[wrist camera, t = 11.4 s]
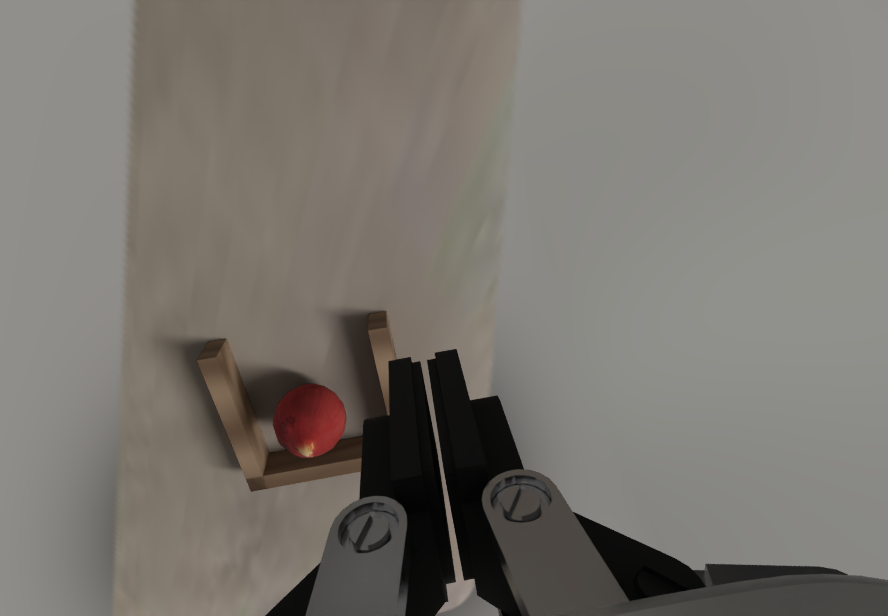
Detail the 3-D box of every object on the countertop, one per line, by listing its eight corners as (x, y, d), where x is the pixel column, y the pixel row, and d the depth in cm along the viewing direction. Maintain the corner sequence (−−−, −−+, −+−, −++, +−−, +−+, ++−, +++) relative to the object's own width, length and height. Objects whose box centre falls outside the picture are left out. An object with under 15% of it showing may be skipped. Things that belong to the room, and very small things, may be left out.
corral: (208, 341, 43) (196, 360, 40) (386, 310, 43) (386, 327, 41) (258, 468, 49) (251, 491, 46) (413, 439, 50) (415, 461, 47)
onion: (291, 425, 47) (275, 489, 40) (273, 373, 45) (253, 432, 38) (354, 413, 48) (349, 476, 40) (340, 361, 45) (332, 418, 38)
